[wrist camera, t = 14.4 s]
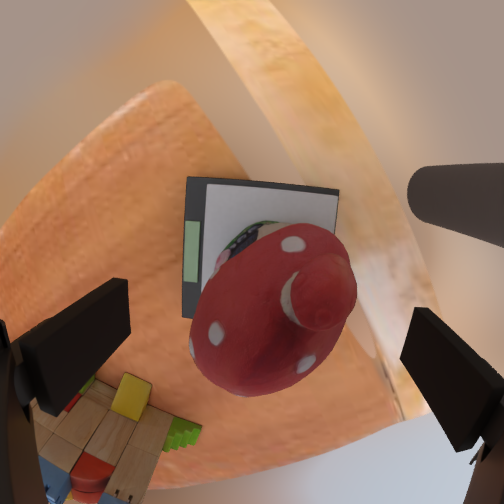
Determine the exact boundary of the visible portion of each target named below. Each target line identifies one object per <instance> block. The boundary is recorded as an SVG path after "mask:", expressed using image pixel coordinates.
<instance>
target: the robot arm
mask: <svg viewBox="0 0 504 504" xmlns="http://www.w3.org/2000/svg"><path fill="white" fill-rule="evenodd" d="M130 334H131V327H130V314H129V298H128V280H127V279H120V278H112V279H110V280H109V281H107V282H106V283H104V284H102V285H101V286H99V287H98V288H96V289H95V290H93V291H91V292H90V293H88V294H87V295H85V296H84V297H82V298H81V299H79V300H78V301H76V302H75V303H73V304H72V305H70V306H68V307H67V308H65V309H64V310H62V311H61V312H59V313H58V314H56V315H55V316H54V317H51V318H48V319H45V320H44V321H42V322H41V323H39V324H38V325H37V327H36V326H35V327H33V328H32V329H30V331H28V332H26V333H25V334H23V335H22V336H20V337H19V338H17V339H16V340H15V341H13V342H12V343H10V341H9V337H8V333H7V329H6V325H5V322H4V321H3V320H1V319H0V504H48V500H47V496H46V492H45V488H44V483H43V479H42V474H41V469H40V464H39V458H38V452H37V445H36V438H35V429H34V420H33V410H32V407H31V405H30V402H31V401H32V400H33V399H34V398H35V397H36V400H37V403H38V405H39V408H40V410H41V411H43V412H45V413H48V414H50V415H52V416H54V417H56V418H57V417H58V416H59V414H60V413H61V412H62V411H63V410H64V409H65V407H66V406H67V405H68V404H69V403H70V402H71V400H72V399H73V398H74V397H75V396H76V395H77V393H78V392H79V391H80V390H81V389H82V388H83V387H84V385H85V384H86V383H87V382H88V381H89V380H90V379H91V377H92V376H93V375H94V374H95V373H96V372H97V371H98V369H99V368H100V367H101V366H102V365H103V364H104V363H105V362H106V360H107V359H108V358H109V357H110V356H111V355H112V354H113V353H114V352H115V350H116V349H117V348H118V347H119V346H120V345H121V344H122V343H123V342H124V340H125V339H126V338H127V337H128V336H129V335H130ZM400 360H401V362H402V363H403V365H404V366H405V368H406V369H407V371H408V372H409V374H410V376H411V377H412V379H413V380H414V382H415V384H416V385H417V387H418V388H419V390H420V392H421V393H422V395H423V397H424V398H425V400H426V401H427V403H428V405H429V406H430V408H431V410H432V411H433V413H434V415H435V416H436V418H437V420H438V422H439V423H440V425H441V427H442V428H443V430H444V432H445V434H446V435H447V437H448V439H449V441H450V443H451V444H452V446H453V448H454V450H455V451H456V452H461V451H465V450H468V449H471V448H473V446H474V445H475V443H476V442H477V440H478V439H479V437H480V436H481V437H482V439H483V440H484V443H483V444H482V446H481V447H480V449H479V450H478V452H477V453H476V454H475V456H474V457H473V459H472V460H471V461H470V463H469V464H470V465H472V463H473V462H474V461H475V460H477V461H476V464H475V468H474V472H473V475H472V478H471V482H470V485H469V488H468V491H467V494H466V497H465V500H464V502H463V504H504V379H503V378H502V376H501V375H500V374H499V373H497V371H496V370H495V369H494V368H492V366H491V365H490V364H489V363H488V362H487V361H486V360H484V359H483V358H481V357H480V356H479V355H478V354H477V353H476V352H475V351H474V350H473V349H472V348H471V347H470V346H469V345H468V344H467V343H466V342H465V341H464V340H462V339H461V338H460V337H459V336H458V335H457V334H456V333H455V332H454V331H453V330H452V329H451V328H450V327H449V326H447V324H445V323H444V322H443V321H442V320H441V319H440V318H439V317H438V316H437V315H436V314H434V313H433V312H432V311H431V310H430V309H429V308H425V307H414V311H413V315H412V319H411V322H410V326H409V330H408V333H407V336H406V340H405V343H404V346H403V349H402V353H401V356H400Z"/></svg>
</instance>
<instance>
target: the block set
mask: <svg viewBox="0 0 504 504" xmlns="http://www.w3.org/2000/svg"><path fill="white" fill-rule="evenodd" d="M151 387H152V385H151V384H150V383H148V382H146V381H143V380H141V379H139V378H137V377H135V376H133V375H131V374H129V373H126V372H125V373H124V375H123V378H122V380H121V383H120V385H119V388H118V390H116V389H114V388H112V387H110V386H108V385H106V384H104V383H102V382H100V381H98V380H96V379H95V374H94V375H93V376H92V377H91V379H90V380H89V381H88V382H87V383H86V384H85V385H84V387H83V388H82V389H81V390H80V391H79V392H78V393H77V395H76V396H75V397H74V398H73V399H72V400H71V402H70V403H69V404H68V405H67V406H66V407H65V409H64V410H63V411H62V412H61V413H60V414H59V416H58V417H57V418H56V417H54V416H52V415H50V414H48V413H45V412H43V411H41V410H40V408H39V405H38V403H37V400H36V397H35V398H34V399H33V400H32V401H31V402H30V405H31V407H32V410H33V420H34V429H35V438H36V445H37V452H38V458H39V464H40V469H41V474H42V479H43V483H44V488H45V492H46V496H47V500H48V503H49V502H50V504H63V503H64V501H66V500H72V499H74V500H75V501H78V502H81V503H86V504H94V503H98V504H142V502H143V499H144V496H145V494H146V491H147V488H148V486H149V483H150V480H151V478H152V475H153V472H154V470H155V467H156V464H157V462H158V459H159V457H160V454H161V452H162V450H163V451H164V452H169V450H170V448H172V449H174V450H178V448H179V446H181V447H183V448H186V446H187V444H190V445H195V443H196V441H197V438H198V436H199V434H200V432H201V428H202V426H200V425H197V424H195V423H192V422H189V421H186V420H183V419H181V418H178V417H174V416H173V415H171V414H169V413H166V412H164V411H161V410H159V409H157V408H154V407H152V406H149V405H147V402H148V398H149V394H150V391H151Z"/></svg>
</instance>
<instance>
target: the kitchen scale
mask: <svg viewBox="0 0 504 504" xmlns="http://www.w3.org/2000/svg"><path fill="white" fill-rule="evenodd" d="M338 201H339V190H337V189H329V188H321V187H312V186H304V185H294V184H285V183H274V182H263V181H252V180H239V179H225V178H209V177H190V176H188V177H187V183H186V198H185V216H184V238H183V269H182V317H184V318H191V319H193V317H194V314H195V312H196V308H197V304H198V301H199V298H200V296H201V293H202V291H203V289H204V287H205V285H206V283H207V281H208V280H209V278H210V277H211V275H212V274H213V273H214V268H215V264H216V260H217V258H218V256H219V254H220V253H221V252H222V251H223V250H224V249H225V247H226V246H227V245H228V244H229V243H230V242H231V241H232V240H233V239H234V238H235V237H236V236H237V235H238V234H239V233H240V232H242V231H243V230H244V229H245V228H246V227H248V226H250V225H252V224H254V223H256V222H260V221H265V220H268V221H277V222H280V223H291V224H297V223H309V224H313V225H316V226H319V227H322V228H324V229H327V230H329V231H330V232H331V233H332V234H334V235H335V227H336V219H337V210H338Z"/></svg>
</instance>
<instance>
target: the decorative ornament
mask: <svg viewBox="0 0 504 504" xmlns="http://www.w3.org/2000/svg"><path fill="white" fill-rule="evenodd" d="M356 299H357V283H356V280H355V277H354V274H353V271H352V269H351V266H350V260H349V256H348V253H347V251H346V249H345V247H344V245H343V244H342V243H341V242H340V240H339V239H338V238H337V237H336V236H335V235H334V234H332V233H331V232H330V231H329V230H327V229H324V228H322V227H319V226H316V225H313V224H309V223H297V224H291V223H280V222H277V221H268V220H265V221H260V222H256V223H254V224H252V225H250V226H248V227H246V228H245V229H244V230H243V231H242V232H240V233H239V234H238V235H237V236H236V237H235V238H234V239H233V240H232V241H231V242H230V243H229V244H228V245H227V246H226V247H225V249H224V250H223V251H222V252H221V253H220V254H219V256H218V258H217V260H216V264H215V268H214V273H213V274H212V275H211V277H210V278H209V280H208V281H207V283H206V285H205V287H204V289H203V291H202V293H201V296H200V298H199V301H198V304H197V308H196V312H195V314H194V317H193V321H192V325H191V330H190V336H189V349H190V353H191V355H192V357H193V359H194V362H195V364H196V366H197V367H198V369H199V370H200V371H201V373H202V374H203V375H204V376H205V377H206V378H207V379H208V380H210V381H211V382H212V383H214V384H215V385H217V386H219V387H221V388H223V389H225V390H227V391H228V392H230V393H232V394H234V395H236V396H242V397H254V396H260V395H266V394H271V393H274V392H277V391H280V390H283V389H285V388H288V387H290V386H292V385H294V384H295V383H297V382H298V381H300V380H301V379H303V378H304V377H306V376H307V375H308V374H310V373H311V372H312V371H313V370H314V369H316V368H317V367H318V366H319V365H320V364H321V363H322V362H323V361H324V360H325V359H326V357H327V356H328V355H329V353H330V352H331V351H332V349H333V348H334V346H335V344H336V342H337V340H338V338H339V336H340V334H341V332H342V329H343V327H344V324H345V322H346V319H347V317H348V315H349V314H350V313H351V311H352V310H353V308H354V306H355V303H356Z"/></svg>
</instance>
